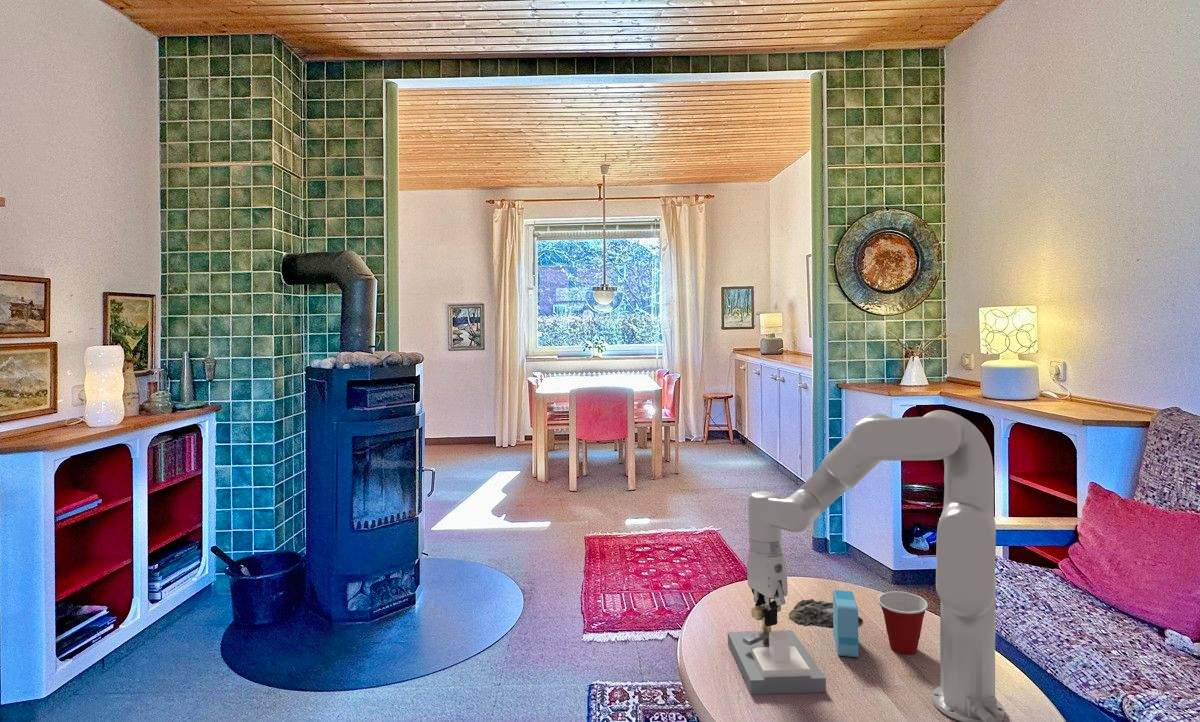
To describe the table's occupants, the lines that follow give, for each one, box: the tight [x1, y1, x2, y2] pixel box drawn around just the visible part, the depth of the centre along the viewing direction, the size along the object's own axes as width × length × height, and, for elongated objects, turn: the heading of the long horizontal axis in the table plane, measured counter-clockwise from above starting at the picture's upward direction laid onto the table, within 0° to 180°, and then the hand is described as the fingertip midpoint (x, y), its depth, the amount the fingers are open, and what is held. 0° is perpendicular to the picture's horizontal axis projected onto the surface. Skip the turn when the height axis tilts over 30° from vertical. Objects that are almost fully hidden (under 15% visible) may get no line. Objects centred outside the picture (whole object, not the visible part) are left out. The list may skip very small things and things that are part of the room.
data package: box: [832, 589, 860, 658], centre depth 151 cm, size 12×4×12 cm, turn 165°
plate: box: [727, 629, 827, 695], centre depth 143 cm, size 22×16×3 cm
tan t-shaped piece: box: [743, 599, 782, 646], centre depth 147 cm, size 11×2×9 cm, turn 124°
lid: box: [751, 632, 810, 677], centre depth 138 cm, size 10×10×6 cm
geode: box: [788, 598, 863, 628], centre depth 169 cm, size 19×4×15 cm
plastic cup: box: [877, 590, 929, 655], centre depth 149 cm, size 11×11×12 cm
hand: (766, 621), depth 148 cm, fingers open, 2 cm apart
